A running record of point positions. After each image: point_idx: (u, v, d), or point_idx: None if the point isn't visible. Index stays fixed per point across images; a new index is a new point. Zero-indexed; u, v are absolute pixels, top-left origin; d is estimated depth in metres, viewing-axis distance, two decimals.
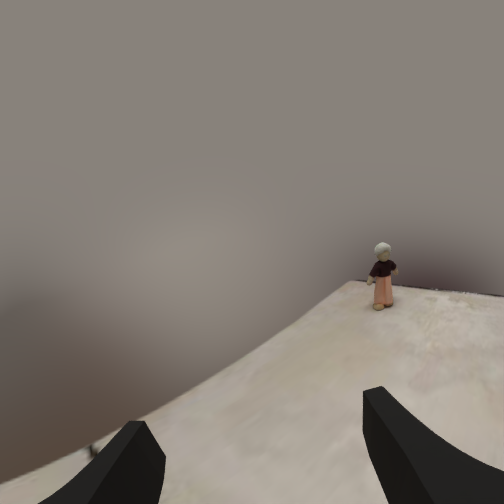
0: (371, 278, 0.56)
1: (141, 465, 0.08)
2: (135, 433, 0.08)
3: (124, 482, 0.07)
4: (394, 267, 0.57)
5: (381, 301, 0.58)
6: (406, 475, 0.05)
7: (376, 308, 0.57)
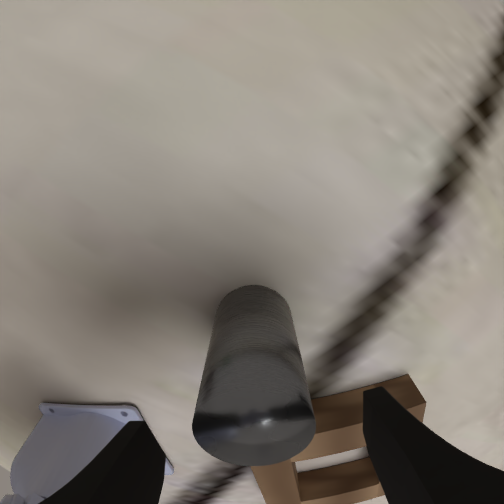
0: None
1: (141, 465, 0.08)
2: (135, 433, 0.08)
3: (124, 482, 0.07)
4: None
5: None
6: (406, 475, 0.05)
7: None
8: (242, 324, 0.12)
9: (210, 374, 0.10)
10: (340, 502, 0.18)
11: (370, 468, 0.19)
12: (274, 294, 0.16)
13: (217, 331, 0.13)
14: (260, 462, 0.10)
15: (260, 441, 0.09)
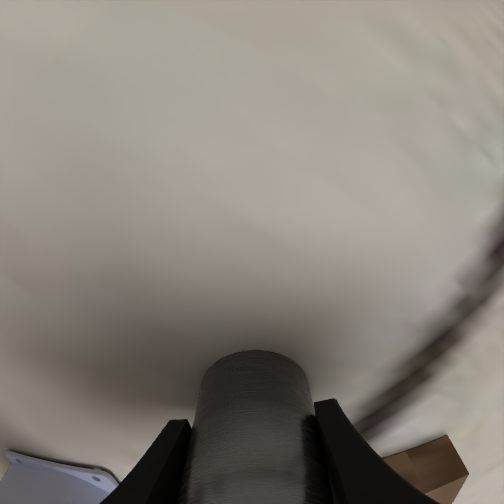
0: None
1: None
2: (180, 432, 0.08)
3: (172, 485, 0.07)
4: None
5: None
6: (342, 494, 0.05)
7: None
8: (237, 440, 0.07)
9: None
10: None
11: None
12: (286, 365, 0.10)
13: (198, 438, 0.07)
14: None
15: None
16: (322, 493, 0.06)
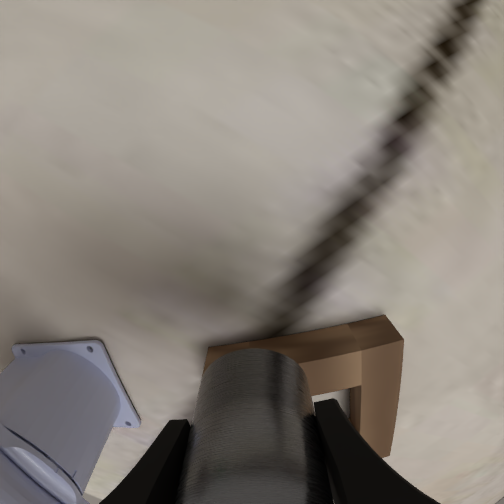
0: None
1: None
2: (180, 432, 0.08)
3: (172, 485, 0.07)
4: None
5: None
6: (342, 494, 0.05)
7: None
8: (234, 437, 0.07)
9: None
10: None
11: None
12: (285, 363, 0.10)
13: (196, 436, 0.07)
14: None
15: None
16: (321, 490, 0.05)
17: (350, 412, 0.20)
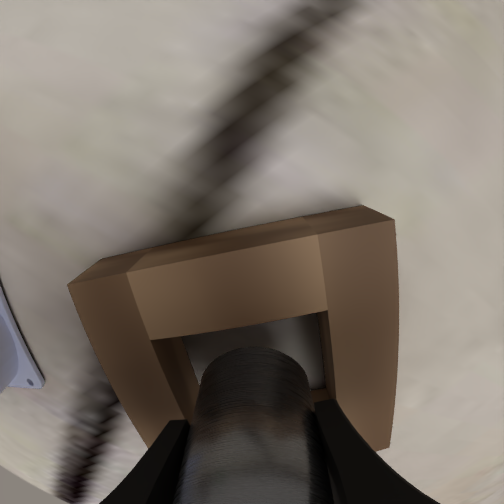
0: None
1: None
2: (180, 433, 0.08)
3: (172, 485, 0.07)
4: None
5: None
6: (341, 494, 0.05)
7: None
8: (232, 434, 0.07)
9: None
10: None
11: None
12: (284, 361, 0.10)
13: (195, 433, 0.07)
14: None
15: None
16: (320, 486, 0.05)
17: (325, 378, 0.14)
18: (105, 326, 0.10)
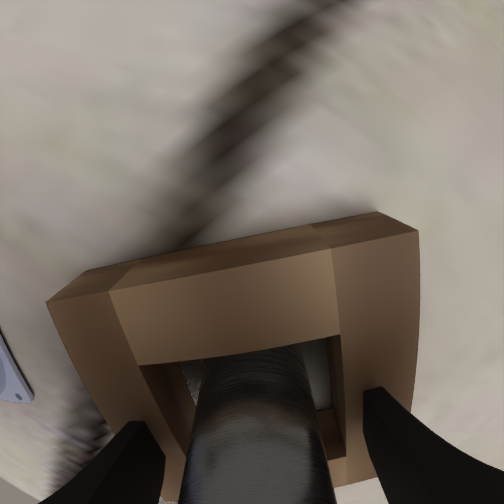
0: None
1: (141, 465, 0.08)
2: (135, 433, 0.08)
3: (124, 482, 0.07)
4: None
5: None
6: (406, 475, 0.05)
7: None
8: (237, 401, 0.08)
9: (191, 484, 0.06)
10: None
11: (332, 427, 0.12)
12: None
13: (203, 404, 0.09)
14: None
15: None
16: (315, 447, 0.07)
17: (332, 398, 0.13)
18: (89, 349, 0.09)
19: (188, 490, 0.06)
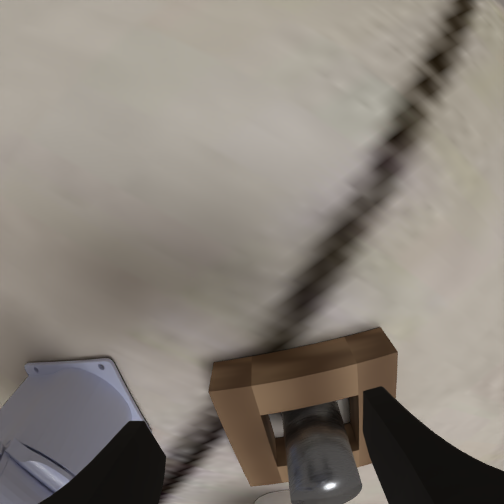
0: None
1: (141, 465, 0.08)
2: (135, 433, 0.08)
3: (124, 482, 0.07)
4: None
5: None
6: (406, 475, 0.05)
7: None
8: (312, 427, 0.17)
9: (299, 466, 0.14)
10: None
11: (350, 434, 0.20)
12: None
13: (293, 429, 0.17)
14: None
15: (329, 498, 0.13)
16: (347, 445, 0.15)
17: (350, 418, 0.21)
18: (232, 410, 0.17)
19: (298, 469, 0.14)
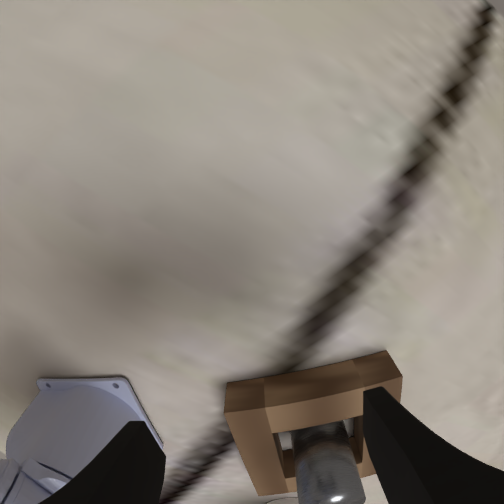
0: None
1: (141, 465, 0.08)
2: (135, 433, 0.08)
3: (124, 482, 0.07)
4: None
5: None
6: (406, 475, 0.05)
7: None
8: (320, 444, 0.17)
9: (308, 481, 0.15)
10: None
11: (354, 447, 0.21)
12: None
13: (302, 446, 0.18)
14: None
15: None
16: (352, 461, 0.16)
17: (354, 432, 0.22)
18: (245, 429, 0.18)
19: (307, 483, 0.15)
